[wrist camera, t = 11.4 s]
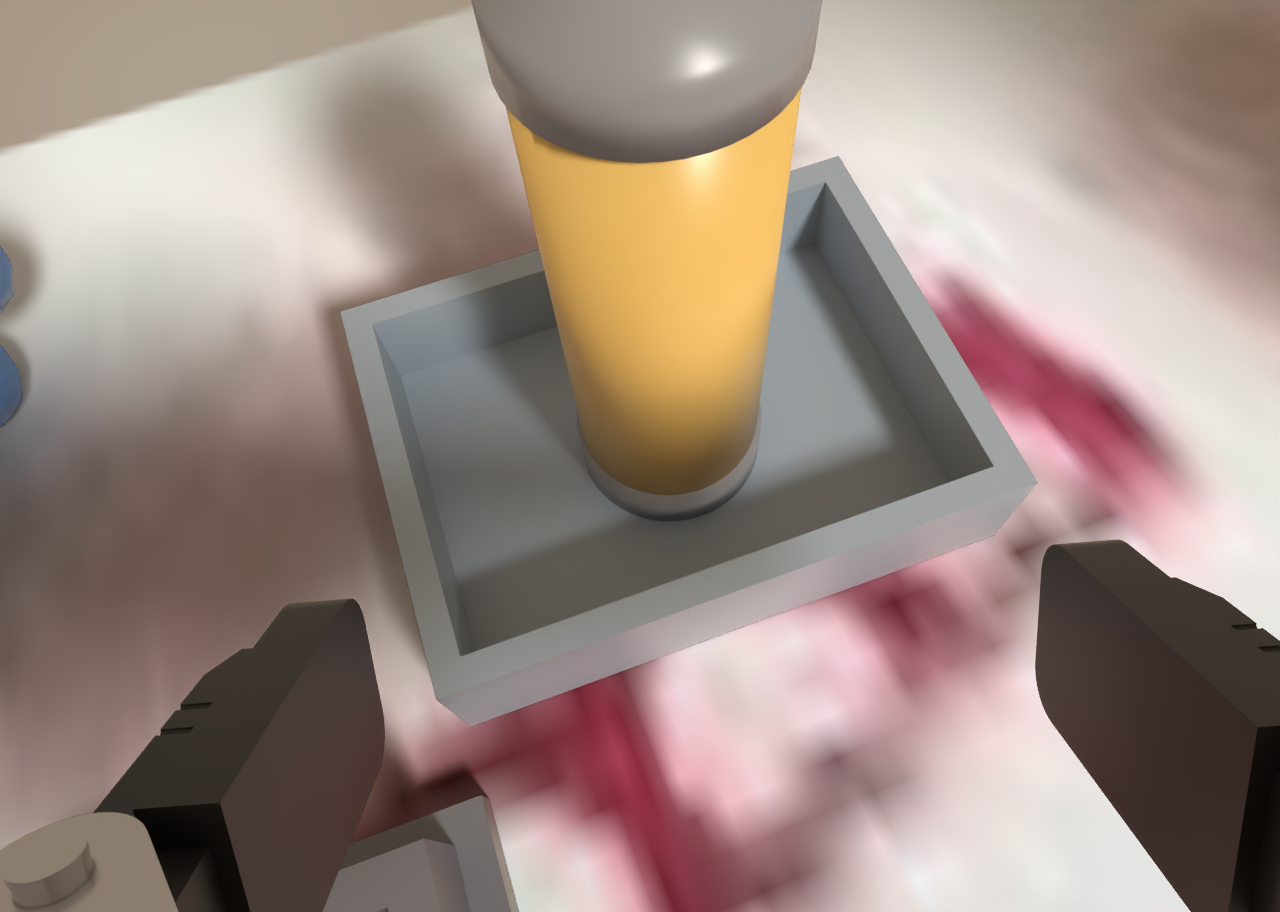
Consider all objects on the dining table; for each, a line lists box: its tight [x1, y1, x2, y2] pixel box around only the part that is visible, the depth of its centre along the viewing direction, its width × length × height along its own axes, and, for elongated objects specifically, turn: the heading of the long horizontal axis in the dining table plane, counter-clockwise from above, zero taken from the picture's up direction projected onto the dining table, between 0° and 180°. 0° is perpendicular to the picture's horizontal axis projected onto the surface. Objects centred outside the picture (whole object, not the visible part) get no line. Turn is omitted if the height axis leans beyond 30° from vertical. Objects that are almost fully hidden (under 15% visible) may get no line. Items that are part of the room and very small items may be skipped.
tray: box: [340, 156, 1038, 727], centre depth 20 cm, size 12×9×3 cm
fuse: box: [472, 0, 822, 521], centre depth 15 cm, size 4×4×12 cm
